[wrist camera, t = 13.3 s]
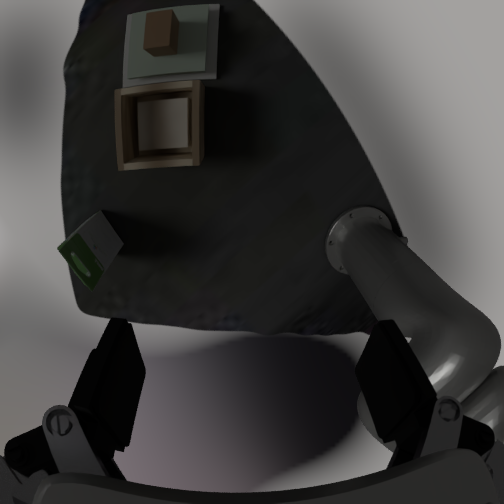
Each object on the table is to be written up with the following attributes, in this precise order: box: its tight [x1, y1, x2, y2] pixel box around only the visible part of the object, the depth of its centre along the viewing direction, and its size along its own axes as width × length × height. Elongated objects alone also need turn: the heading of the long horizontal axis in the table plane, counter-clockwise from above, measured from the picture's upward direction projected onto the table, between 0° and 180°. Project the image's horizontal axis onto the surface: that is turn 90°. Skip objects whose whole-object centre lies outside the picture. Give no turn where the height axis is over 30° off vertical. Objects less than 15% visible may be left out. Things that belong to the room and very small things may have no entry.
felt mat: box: [123, 4, 220, 88], centre depth 27 cm, size 13×12×1 cm
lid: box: [127, 4, 209, 80], centre depth 24 cm, size 10×10×7 cm
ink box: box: [57, 210, 124, 292], centre depth 34 cm, size 7×4×13 cm, turn 25°
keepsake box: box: [115, 80, 205, 171], centre depth 30 cm, size 10×10×7 cm
